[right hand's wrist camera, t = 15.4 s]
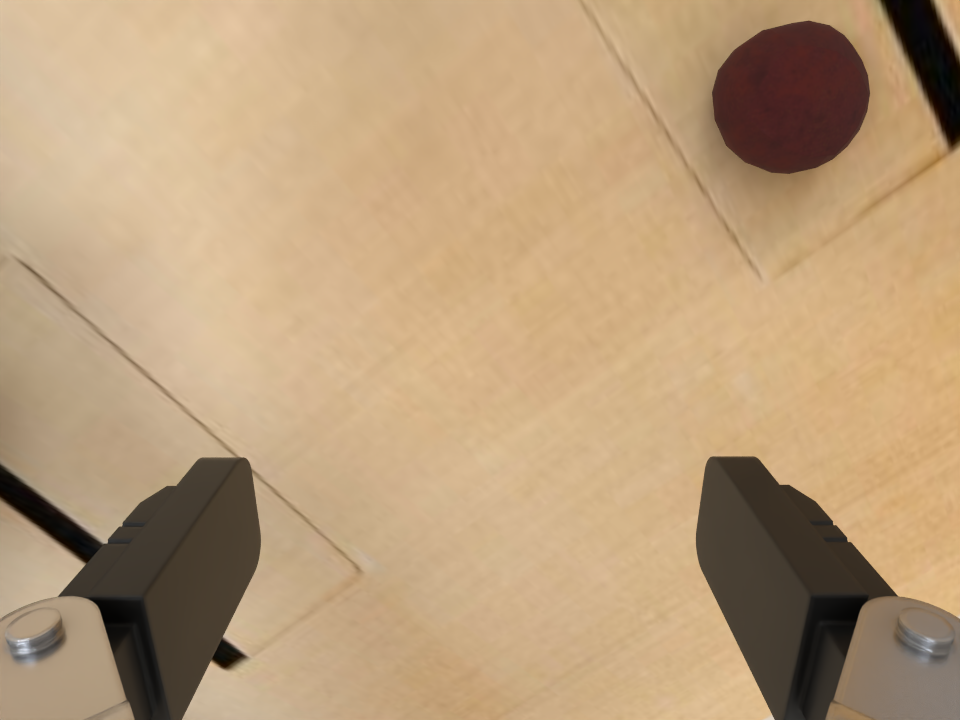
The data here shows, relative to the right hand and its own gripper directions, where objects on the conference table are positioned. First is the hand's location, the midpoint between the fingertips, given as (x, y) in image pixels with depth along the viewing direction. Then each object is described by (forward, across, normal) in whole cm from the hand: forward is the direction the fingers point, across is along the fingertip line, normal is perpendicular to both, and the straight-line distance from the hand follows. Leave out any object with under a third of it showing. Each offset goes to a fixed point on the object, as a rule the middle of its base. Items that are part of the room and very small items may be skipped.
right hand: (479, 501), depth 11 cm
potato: (+31, +16, +7) cm, 36 cm away
